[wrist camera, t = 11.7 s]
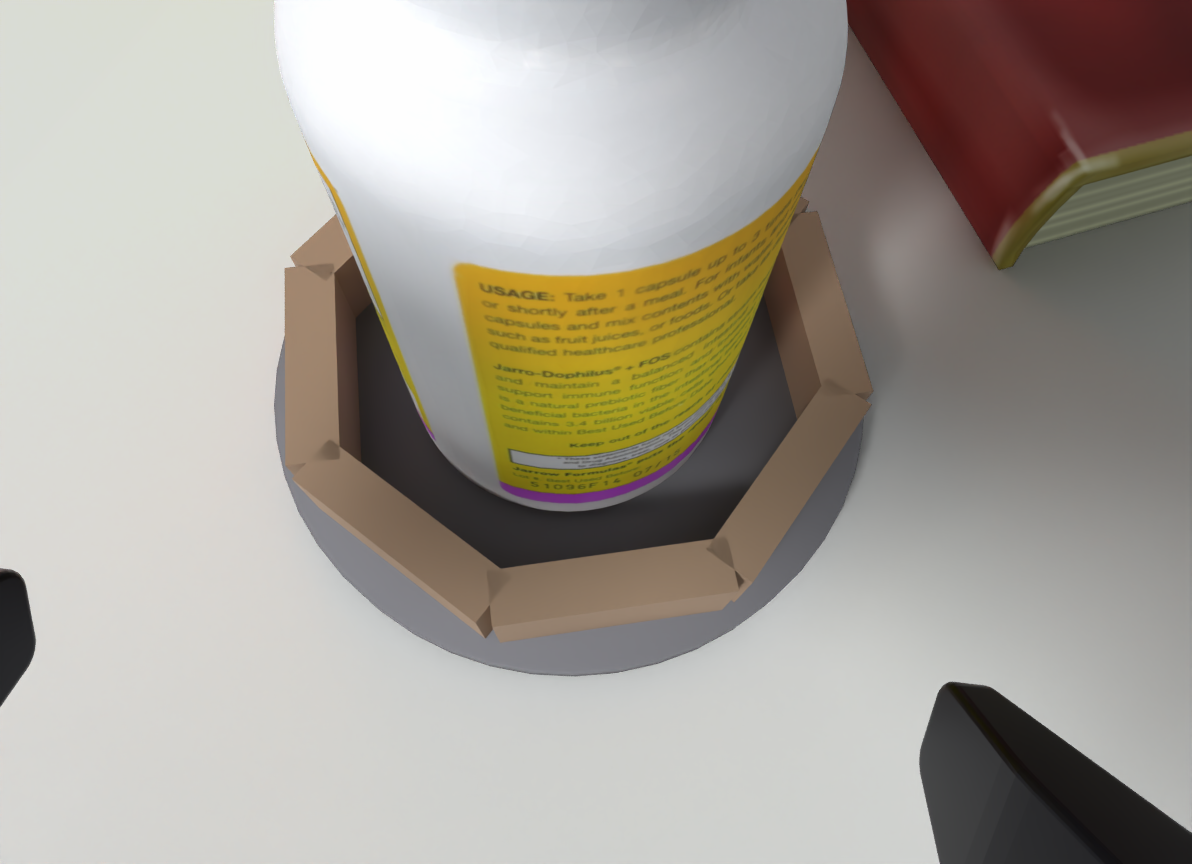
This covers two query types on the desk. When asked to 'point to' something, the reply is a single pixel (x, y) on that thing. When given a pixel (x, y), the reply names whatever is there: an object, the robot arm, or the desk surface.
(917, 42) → the hardcover book
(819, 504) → the coaster ring
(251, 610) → the desk surface
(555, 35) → the supplement bottle
